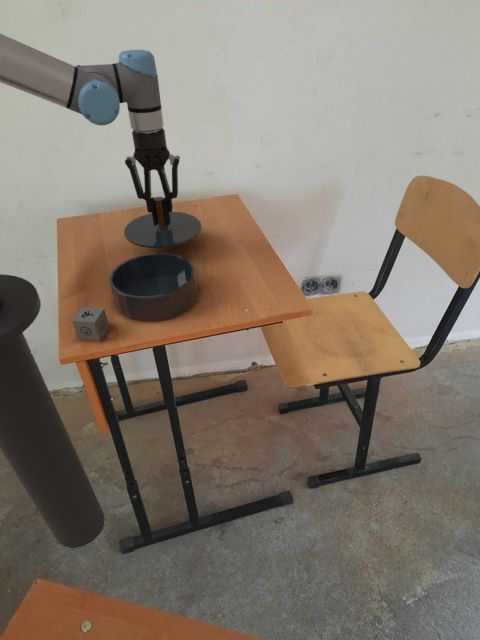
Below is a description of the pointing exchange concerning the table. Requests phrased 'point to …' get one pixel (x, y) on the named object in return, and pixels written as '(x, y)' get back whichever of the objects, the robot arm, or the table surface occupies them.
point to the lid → (162, 228)
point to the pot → (154, 286)
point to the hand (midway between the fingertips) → (162, 222)
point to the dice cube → (90, 324)
